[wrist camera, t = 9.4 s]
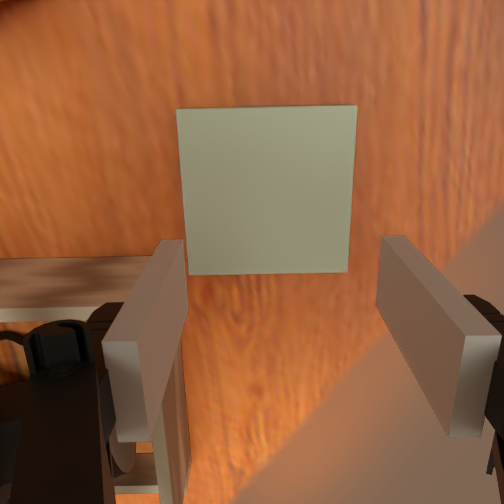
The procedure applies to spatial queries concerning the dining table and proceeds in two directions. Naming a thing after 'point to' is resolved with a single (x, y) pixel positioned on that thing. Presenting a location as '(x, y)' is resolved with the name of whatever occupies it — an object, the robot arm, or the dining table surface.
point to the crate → (80, 308)
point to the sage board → (267, 188)
